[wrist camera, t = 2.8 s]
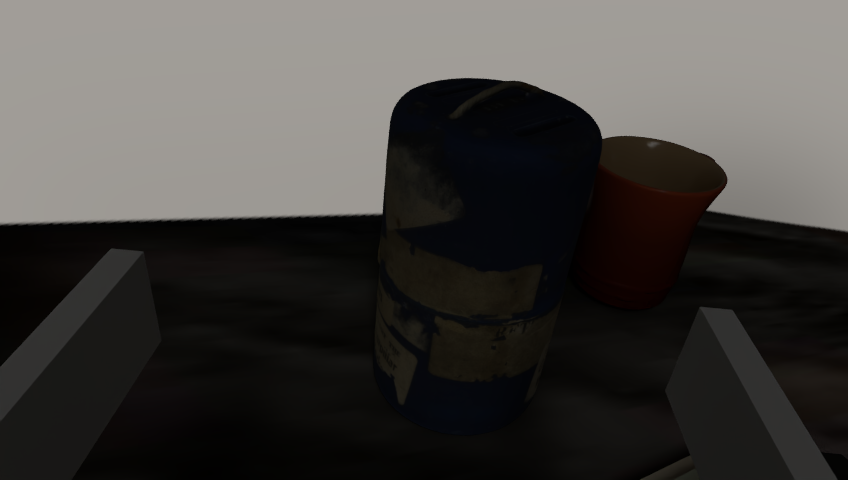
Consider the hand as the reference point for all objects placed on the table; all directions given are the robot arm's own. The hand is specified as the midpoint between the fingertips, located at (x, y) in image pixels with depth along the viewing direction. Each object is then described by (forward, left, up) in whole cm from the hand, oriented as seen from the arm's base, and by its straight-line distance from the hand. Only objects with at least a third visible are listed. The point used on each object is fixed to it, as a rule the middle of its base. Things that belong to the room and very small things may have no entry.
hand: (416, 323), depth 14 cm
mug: (-15, +27, -16) cm, 35 cm away
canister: (-11, +9, -16) cm, 22 cm away
